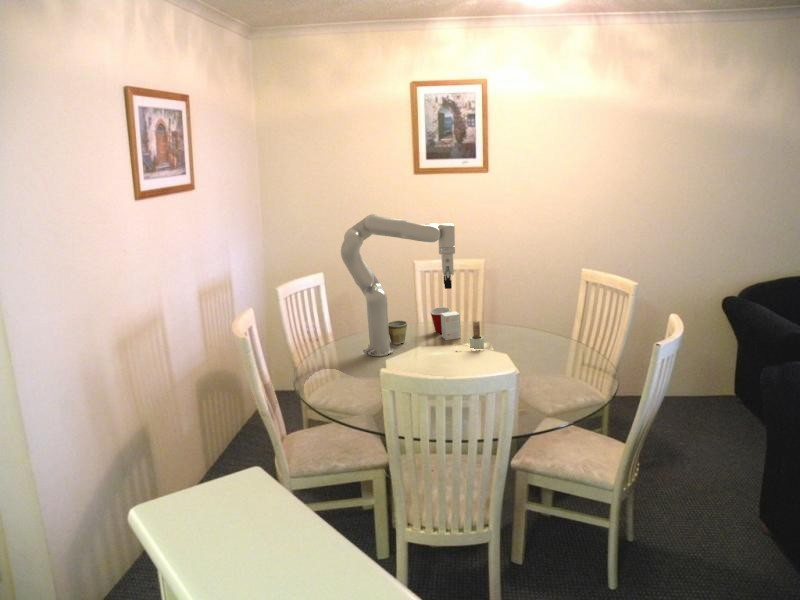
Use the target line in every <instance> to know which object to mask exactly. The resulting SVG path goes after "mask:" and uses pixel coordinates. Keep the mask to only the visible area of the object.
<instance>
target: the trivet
mask: <svg viewBox="0 0 800 600" xmlns="http://www.w3.org/2000/svg"><path fill="white" fill-rule="evenodd" d="M456 345H468V346H470V342H467V343H453V344H452V346H456ZM483 349H488V350H491V351H494V347H493V345H492V343H491V341H488V342H485V341H484V348H483Z"/></svg>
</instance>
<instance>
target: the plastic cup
mask: <svg viewBox="0 0 800 600" xmlns="http://www.w3.org/2000/svg"><path fill="white" fill-rule="evenodd" d="M447 312H451V307H450V308H449V307H445V306H444V307H443V306H442V307H441V306H440V307H434V308H432V309H430V310H429V313H430V315H431V318H432V319H431V320H432V324H433V327H434V332H435V333H436V332H438V333H442V326H441V313H447ZM438 333H437V334H438Z"/></svg>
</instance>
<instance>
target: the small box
mask: <svg viewBox="0 0 800 600" xmlns="http://www.w3.org/2000/svg"><path fill="white" fill-rule="evenodd" d="M441 326H442V334H441V337H442V338H443V339H444V340H445V341H449V340H457V339H461V338H462V335H461V333H462V332H461V315H460V313H459V312H458V311H456V310H455V311H450V312H447V313H441Z"/></svg>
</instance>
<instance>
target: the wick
mask: <svg viewBox="0 0 800 600" xmlns="http://www.w3.org/2000/svg"><path fill="white" fill-rule="evenodd" d="M480 326H481V325H480V320H473V321H472V329H473V330H472V331H473V335H472V336H473V337H474V339H480V336H481V332H480V331H481V330H480V329H481V328H480Z"/></svg>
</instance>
